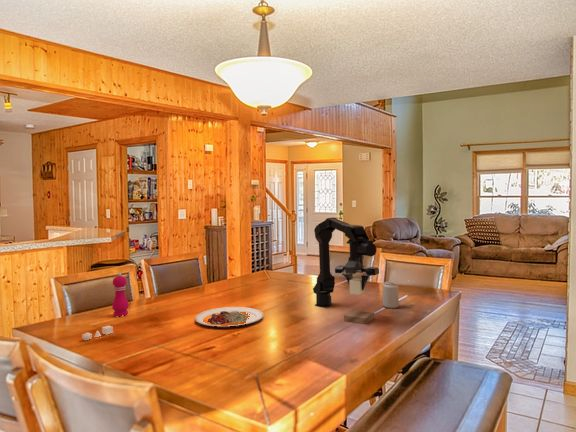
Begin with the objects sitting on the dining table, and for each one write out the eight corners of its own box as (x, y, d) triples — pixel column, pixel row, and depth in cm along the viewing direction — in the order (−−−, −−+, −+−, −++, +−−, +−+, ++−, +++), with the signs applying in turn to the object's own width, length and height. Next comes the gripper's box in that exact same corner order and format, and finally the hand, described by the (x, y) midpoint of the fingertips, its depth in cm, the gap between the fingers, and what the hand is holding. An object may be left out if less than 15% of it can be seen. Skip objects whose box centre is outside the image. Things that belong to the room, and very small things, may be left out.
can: (399, 309, 212) (398, 284, 212) (382, 308, 214) (382, 283, 213) (398, 305, 220) (398, 280, 219) (382, 304, 221) (382, 280, 220)
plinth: (344, 322, 195) (343, 315, 195) (353, 316, 203) (353, 309, 203) (365, 325, 189) (365, 318, 189) (374, 319, 198) (374, 312, 198)
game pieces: (108, 332, 185) (108, 325, 184) (113, 334, 183) (113, 326, 182) (80, 341, 175) (80, 333, 175) (85, 342, 173) (85, 334, 173)
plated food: (271, 312, 211) (271, 305, 211) (249, 332, 182) (249, 324, 182) (213, 309, 219) (212, 302, 219) (182, 327, 190) (182, 319, 190)
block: (349, 293, 198) (349, 280, 197) (354, 291, 202) (353, 278, 202) (360, 294, 195) (360, 280, 195) (364, 292, 199) (364, 279, 199)
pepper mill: (132, 314, 212) (130, 271, 210) (120, 318, 205) (119, 274, 204) (120, 312, 215) (119, 271, 214) (109, 316, 208) (107, 273, 207)
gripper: (329, 255, 196) (330, 291, 196) (370, 257, 186) (370, 295, 187) (339, 252, 205) (340, 286, 206) (379, 254, 196) (379, 290, 196)
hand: (357, 289), depth 198 cm, fingers closed on block, 5 cm apart
